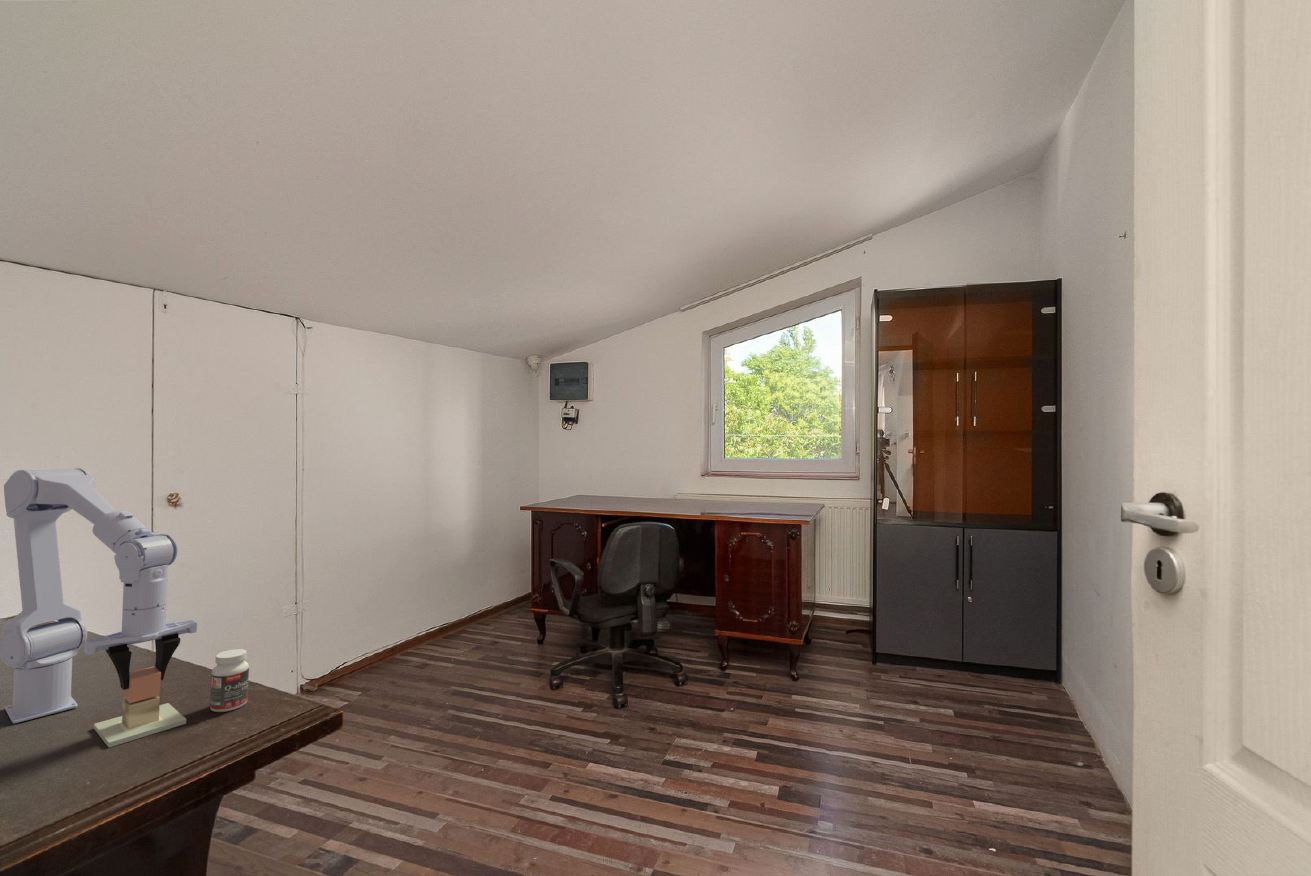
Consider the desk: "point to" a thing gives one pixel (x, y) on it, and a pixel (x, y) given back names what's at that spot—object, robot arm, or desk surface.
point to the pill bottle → (229, 681)
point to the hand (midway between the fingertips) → (142, 683)
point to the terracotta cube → (143, 684)
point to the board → (118, 733)
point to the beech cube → (140, 712)
